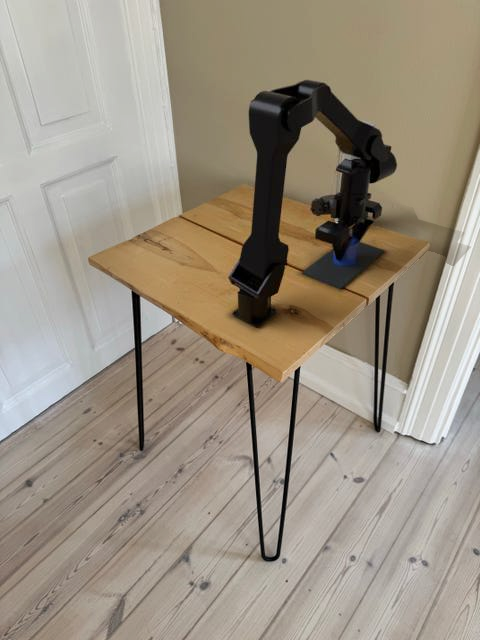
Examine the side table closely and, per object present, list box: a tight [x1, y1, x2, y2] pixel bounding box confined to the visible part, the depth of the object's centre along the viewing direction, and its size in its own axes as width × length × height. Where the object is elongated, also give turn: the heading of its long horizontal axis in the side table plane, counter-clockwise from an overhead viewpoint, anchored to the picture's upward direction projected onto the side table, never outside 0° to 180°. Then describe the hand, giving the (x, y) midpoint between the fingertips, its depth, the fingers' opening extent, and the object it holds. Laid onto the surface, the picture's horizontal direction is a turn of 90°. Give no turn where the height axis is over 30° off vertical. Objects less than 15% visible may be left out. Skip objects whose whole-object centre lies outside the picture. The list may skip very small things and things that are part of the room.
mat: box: [301, 241, 386, 290], centre depth 107 cm, size 20×10×1 cm, turn 140°
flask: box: [333, 228, 359, 267], centre depth 104 cm, size 5×5×8 cm
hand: (345, 255), depth 105 cm, fingers closed on flask, 5 cm apart
